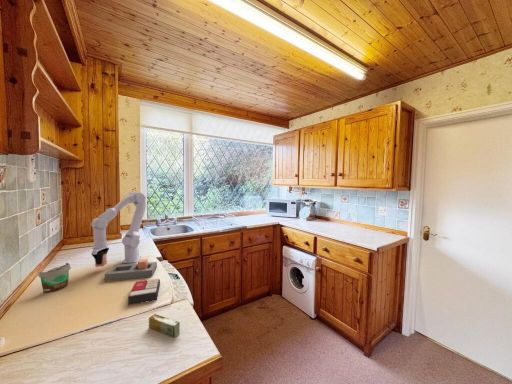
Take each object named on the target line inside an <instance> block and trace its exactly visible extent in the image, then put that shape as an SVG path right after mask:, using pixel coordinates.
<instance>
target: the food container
mask: <svg viewBox="0 0 512 384" xmlns="http://www.w3.org/2000/svg"><path fill="white" fill-rule="evenodd" d="M71 269H72V267H71V265H70V263H68V262H65V264H64V265H61V266H58V267H54V268H52V269H49V270H48V271H43V272H42V271H40V272H39V274H38V278H40V282H41V289H42V292H43V293H45V294H47V293H48V294H49V293H53V292H57V291H60V290H63V289H65V288H67V287H68V286H69V276H70V273H69V272H70V270H71Z"/></svg>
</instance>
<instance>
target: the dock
mask: <svg viewBox="0 0 512 384" xmlns="http://www.w3.org/2000/svg"><path fill="white" fill-rule="evenodd" d="M148 261H149V260H148V258H145V259H144V258H143V259H139V260H138V261H137V262H135V263H122V264H114V265H113V266H112V267H111V268H110V269H109V270H108V271H107V272H106V273H105V274H104V275H105V278H104V279H105V282H111V281H119V280H121V281H122V280H130V279H132V280H133V279H141V278H142V277H143V278H152V277H153V276H154V274H155V272H156V271H157V269H156V268H158V261H150V262H148ZM151 276H152V277H151Z"/></svg>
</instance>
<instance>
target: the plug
mask: <svg viewBox="0 0 512 384" xmlns="http://www.w3.org/2000/svg"><path fill="white" fill-rule="evenodd" d="M94 263H95V264H94V265H95V267H96V268H98V267H104V266H105V265H107V263H108V262H107V255H106V253H105V254H103V257H102V264H99V265H97V264H96V261H95V260H94Z"/></svg>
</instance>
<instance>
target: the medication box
mask: <svg viewBox="0 0 512 384" xmlns="http://www.w3.org/2000/svg"><path fill="white" fill-rule="evenodd" d="M180 323H181V322H180V321H177V320H175V319H172V318H168V317H164V316H162V315H159V314H156V313H154V314H152V315H150V316H149V317H148V329H150V330H154V332H155V331H156V332H157V333H161V334H164V335H165V336H168V337H170V338H173V339H175V338H177V336H179V334H180V328H181V327H180V326H181V325H180Z"/></svg>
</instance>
